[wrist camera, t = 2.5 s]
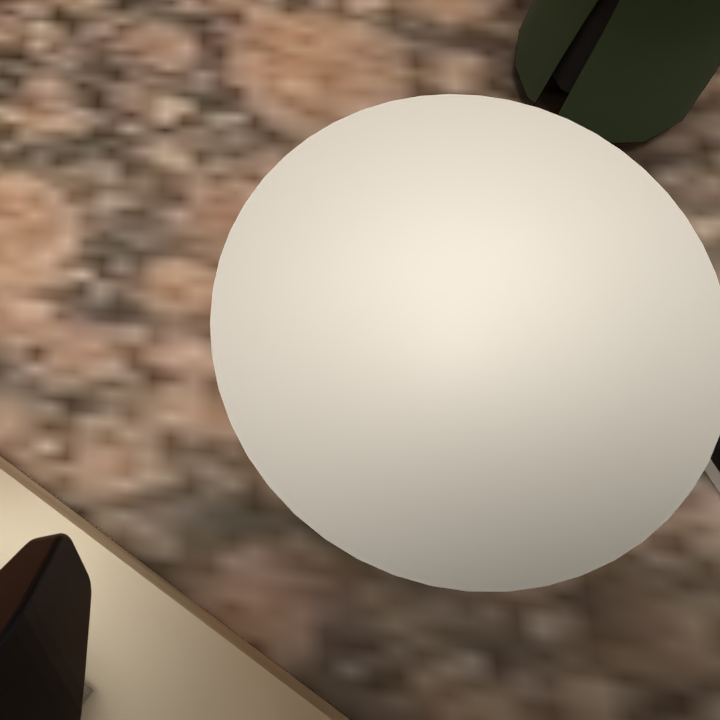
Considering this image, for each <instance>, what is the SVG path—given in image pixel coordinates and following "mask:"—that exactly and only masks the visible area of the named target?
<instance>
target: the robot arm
mask: <svg viewBox="0 0 720 720" xmlns="http://www.w3.org/2000/svg"><path fill="white" fill-rule="evenodd" d="M711 460H712V462H713V464H714V465H715V467H716V468H717V470H718V471H719V472H720V436H719V438H718V441H717V443H716V446H715V448H714V450H713V453H712V455H711ZM91 594H92V591H91V582H90V578H89V575H88V573H87V571H86V569H85V567H84V564H83V562H82V560H81V558H80V556H79V554H78V552H77V550H76V548H75V546H74V544H73V541H72V540H71V538H70V537H69V536H68V535H67V534H64V533H58V534H53V535H48V536H43V537H38V538H35V539H32V540H30V541H29V542H28V543H27V544H25V545H24V546H23V547H22V548H21V549H20V550H19V551H18V552H17V553H16V554H15V555H14V556H13V557H12V558H11V559H10V560H9V561H8V562H7V563H6V564H5V565H4V566H3V567H2V568H1V569H0V720H81V714H82V705H83V696H84V684H85V671H86V658H87V646H88V633H89V621H90V608H91Z"/></svg>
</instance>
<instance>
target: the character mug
mask: <svg viewBox="0 0 720 720" xmlns="http://www.w3.org/2000/svg"><path fill="white" fill-rule="evenodd" d="M515 66H516V68H517V71H518V74H519V76H520V79H521V82H522V84H523V87H524V89H525V92H526V95H527V97H528V98H530V99H531V100H532V101H533V102H534V103H535V102H536V100H537V99H538V97H539V95H540V94H541V92H542V90H543V89H544V87H545V85H546V84H547V82H548V80H549V78H550V77H551V75H552V76H553V77H554V79H555V81H556V82H557V84H558V85H559V87H560V89H562V90H564V91H566V92H568V93H569V95H568V97H567V99H566V101H565V102H564V104H563V106H562V108H561V110H560V112H559V114H558V115H559V116H561V117H564V118H566V119H569V120H571V121H573V122H575V123H576V124H578V125H580V126H582V127H584V128H586V129H588V130H590V131H592V132H594V133H596V134H597V135H599V136H600V137H602V138H603V139H605V140H606V141H608V142H609V143H626V142H645V141H646V140H648V139H650V138H652V137H654V136H655V135H657V134H659V133H661V132H663V131H664V130H666V129H668V128H670V127H672V126H673V125H675V124H677V123H679V122H681V121H682V120H683V119H684V117H685V116H686V114H687V113H688V111H689V110H690V108H691V107H692V105H693V104H694V103H695V101H696V100H697V98H698V97H699V95H700V94H701V92H702V91H703V89H704V88H705V87H706V85H707V84H708V82H709V81H710V79H711V78H712V76H713V75H714V73H715V72H716V70H717V69H718V67H719V66H720V0H534V2H533V4H532V6H531V8H530V10H529V12H528V14H527V16H526V18H525V20H524V22H523V24H522V26H521V28H520V30H519V37H518V44H517V51H516V59H515Z"/></svg>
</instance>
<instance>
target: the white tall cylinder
mask: <svg viewBox="0 0 720 720" xmlns="http://www.w3.org/2000/svg"><path fill="white" fill-rule="evenodd" d="M210 330H211V348H212V358H213V363H214V368H215V373H216V378H217V383H218V388H219V392H220V395H221V397H222V400H223V403H224V406H225V409H226V412H227V415H228V417H229V420H230V423H231V425H232V427H233V429H234V431H235V433H236V435H237V437H238V439H239V441H240V443H241V445H242V447H243V448H244V450H245V452H246V454H247V456H248V457H249V459H250V460H251V462H252V463H253V465H254V466H255V467H256V469H257V470H258V472H259V473H260V475H261V476H262V477H263V479H264V480H265V482H266V483H267V485H268V486H269V487H270V488H271V489H272V490H273V491H274V492H275V494H276V495H277V496H278V497H279V498H280V499H281V500H282V501H283V502H284V503H285V504H286V505H287V507H288V508H289V509H290V510H291V511H292V512H293V513H294V514H295V515H296V516H297V517H299V518H300V519H301V520H302V521H304V522H305V523H306V524H307V525H308V526H310V527H311V528H312V529H313V530H314V531H316V532H317V533H318V534H319V535H321V536H322V537H323V538H324V539H326V540H327V541H329V542H331V543H332V544H334V545H336V546H337V547H339V548H340V549H342V550H344V551H345V552H347V553H348V554H350V555H352V556H353V557H355V558H357V559H358V560H361V561H363V562H365V563H367V564H370V565H372V566H374V567H376V568H379V569H381V570H383V571H385V572H388V573H390V574H392V575H395V576H399V577H402V578H405V579H409V580H412V581H416V582H419V583H423V584H426V585H430V586H435V587H442V588H449V589H456V590H463V591H475V592H509V591H516V590H523V589H530V588H538V587H545V586H548V585H552V584H555V583H559V582H562V581H566V580H569V579H573V578H576V577H579V576H582V575H584V574H586V573H589V572H591V571H593V570H595V569H597V568H600V567H602V566H604V565H606V564H608V563H610V562H613V561H615V560H616V559H618V558H619V557H621V556H622V555H624V554H625V553H627V552H628V551H630V550H631V549H633V548H634V547H636V546H637V545H639V544H640V543H642V542H643V541H645V540H646V539H647V538H648V537H649V536H650V535H651V534H652V533H654V532H655V531H656V530H657V529H658V528H659V527H660V526H661V525H662V524H664V523H665V522H666V521H667V520H668V519H669V518H670V517H671V516H672V515H673V513H674V512H675V511H676V510H677V508H678V507H679V506H680V505H681V504H682V502H683V501H684V500H685V499H686V497H687V496H688V495H689V494H690V493H691V491H692V490H693V488H694V486H695V485H696V483H697V481H698V480H699V478H700V476H701V474H702V473H703V471H704V469H705V468H706V466H707V464H708V463H709V460H710V458H711V455H712V453H713V450H714V448H715V446H716V443H717V441H718V438H719V436H720V285H719V282H718V279H717V276H716V273H715V271H714V268H713V266H712V264H711V262H710V260H709V257H708V255H707V253H706V251H705V248H704V246H703V244H702V243H701V241H700V239H699V238H698V236H697V234H696V233H695V231H694V229H693V228H692V226H691V224H690V223H689V221H688V219H687V218H686V216H685V215H684V214H683V212H682V211H681V210H680V209H679V207H678V206H677V205H676V203H675V202H674V201H673V200H672V198H671V197H670V196H669V194H668V193H667V192H666V191H665V190H664V189H663V188H662V187H661V186H660V185H659V184H658V183H657V182H656V181H655V180H654V179H653V178H652V176H651V175H650V174H649V173H648V172H647V171H646V170H645V169H643V168H642V167H641V166H640V165H638V164H637V163H636V162H635V161H634V160H632V159H631V158H630V157H629V156H628V155H626V154H625V153H624V152H623V151H622V150H620V149H619V148H617V147H616V146H614V145H612V144H611V143H609V142H608V141H606V140H605V139H603V138H602V137H600V136H599V135H597V134H596V133H594V132H592V131H590V130H588V129H586V128H584V127H582V126H580V125H578V124H576V123H575V122H573V121H571V120H569V119H566V118H564V117H561V116H559V115H556V114H553V113H551V112H548V111H546V110H543V109H540V108H537V107H533V106H530V105H526V104H522V103H519V102H515V101H511V100H506V99H499V98H493V97H486V96H480V95H458V94H444V95H429V96H417V97H412V98H406V99H401V100H395V101H390V102H387V103H383V104H380V105H377V106H374V107H370V108H367V109H364V110H361V111H359V112H356V113H354V114H352V115H349V116H347V117H345V118H343V119H340V120H338V121H336V122H334V123H332V124H330V125H329V126H327V127H325V128H324V129H322V130H320V131H319V132H317V133H315V134H314V135H312V136H310V137H309V138H307V139H306V140H305V141H304V142H302V143H301V144H300V145H299V146H297V147H296V148H295V149H293V150H292V151H291V152H290V153H288V154H287V155H286V156H285V157H284V158H283V159H282V160H281V161H280V162H279V163H278V164H277V165H276V166H275V167H274V168H273V169H272V170H271V171H270V172H269V173H268V174H267V175H266V176H265V177H264V178H263V180H262V181H261V182H260V184H259V185H258V186H257V188H256V189H255V190H254V192H253V193H252V195H251V196H250V197H249V199H248V200H247V201H246V203H245V205H244V206H243V208H242V210H241V212H240V214H239V215H238V217H237V219H236V221H235V223H234V225H233V226H232V228H231V230H230V233H229V236H228V238H227V241H226V244H225V246H224V249H223V251H222V254H221V257H220V260H219V264H218V269H217V273H216V278H215V282H214V286H213V293H212V305H211V317H210Z"/></svg>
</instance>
